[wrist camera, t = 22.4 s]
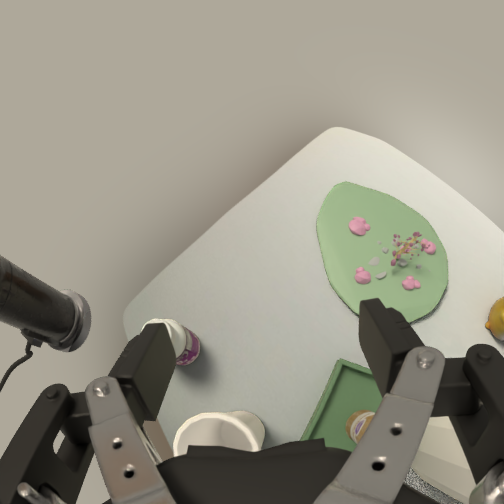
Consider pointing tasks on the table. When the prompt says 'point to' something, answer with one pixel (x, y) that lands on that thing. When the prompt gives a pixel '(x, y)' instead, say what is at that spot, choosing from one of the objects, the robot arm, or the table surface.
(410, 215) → the plant
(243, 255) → the table surface
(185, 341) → the pill bottle
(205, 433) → the cup
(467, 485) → the container
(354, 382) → the green tray
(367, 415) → the sprinkles bottle
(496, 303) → the mug
